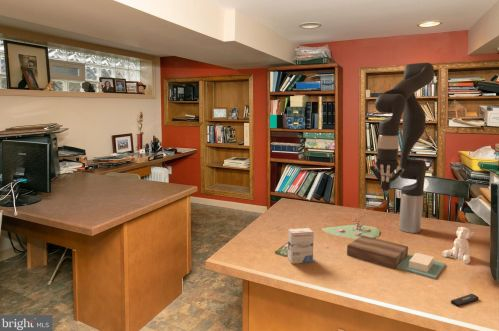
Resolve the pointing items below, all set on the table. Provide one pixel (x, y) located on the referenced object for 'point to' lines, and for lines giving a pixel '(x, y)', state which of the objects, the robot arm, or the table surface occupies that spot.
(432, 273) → the teal mat
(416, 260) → the ivory tile
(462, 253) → the sitting furry creature
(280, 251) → the smartphone
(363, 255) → the plate
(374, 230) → the green diorama
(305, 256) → the ink box
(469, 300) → the usb stick
